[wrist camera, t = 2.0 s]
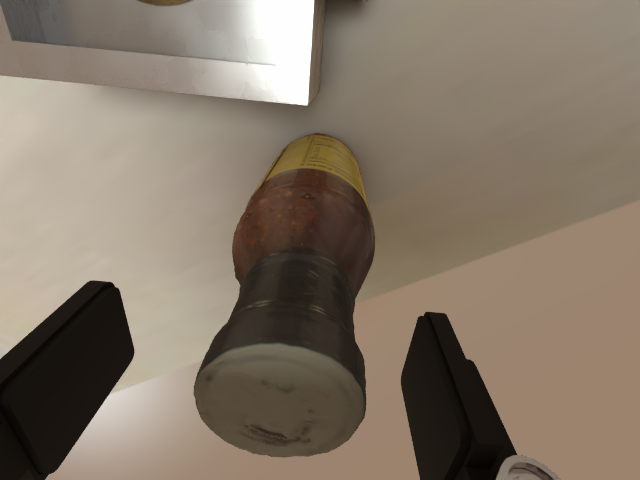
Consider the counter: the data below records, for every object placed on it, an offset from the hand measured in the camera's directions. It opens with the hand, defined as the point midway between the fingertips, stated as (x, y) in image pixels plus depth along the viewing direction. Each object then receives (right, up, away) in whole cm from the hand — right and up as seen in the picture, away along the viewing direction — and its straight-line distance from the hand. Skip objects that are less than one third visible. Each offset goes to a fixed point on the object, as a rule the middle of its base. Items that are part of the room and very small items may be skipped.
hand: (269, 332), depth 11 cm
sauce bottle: (+2, +8, +15) cm, 17 cm away
